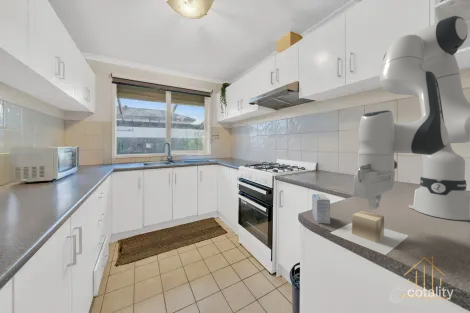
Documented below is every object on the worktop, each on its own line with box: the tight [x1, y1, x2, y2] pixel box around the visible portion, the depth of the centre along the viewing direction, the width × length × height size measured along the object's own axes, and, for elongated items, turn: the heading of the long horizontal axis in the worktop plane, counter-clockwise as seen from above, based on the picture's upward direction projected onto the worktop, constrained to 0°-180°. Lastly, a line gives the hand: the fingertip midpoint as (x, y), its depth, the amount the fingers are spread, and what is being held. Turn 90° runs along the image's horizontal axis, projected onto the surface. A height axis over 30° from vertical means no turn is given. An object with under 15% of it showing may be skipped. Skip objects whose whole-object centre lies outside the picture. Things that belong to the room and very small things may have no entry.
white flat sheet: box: [330, 222, 409, 256], centre depth 55 cm, size 18×14×1 cm
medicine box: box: [311, 193, 331, 225], centre depth 67 cm, size 8×4×9 cm, turn 168°
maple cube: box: [351, 210, 385, 242], centre depth 54 cm, size 6×6×6 cm
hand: (373, 208), depth 56 cm, fingers closed
